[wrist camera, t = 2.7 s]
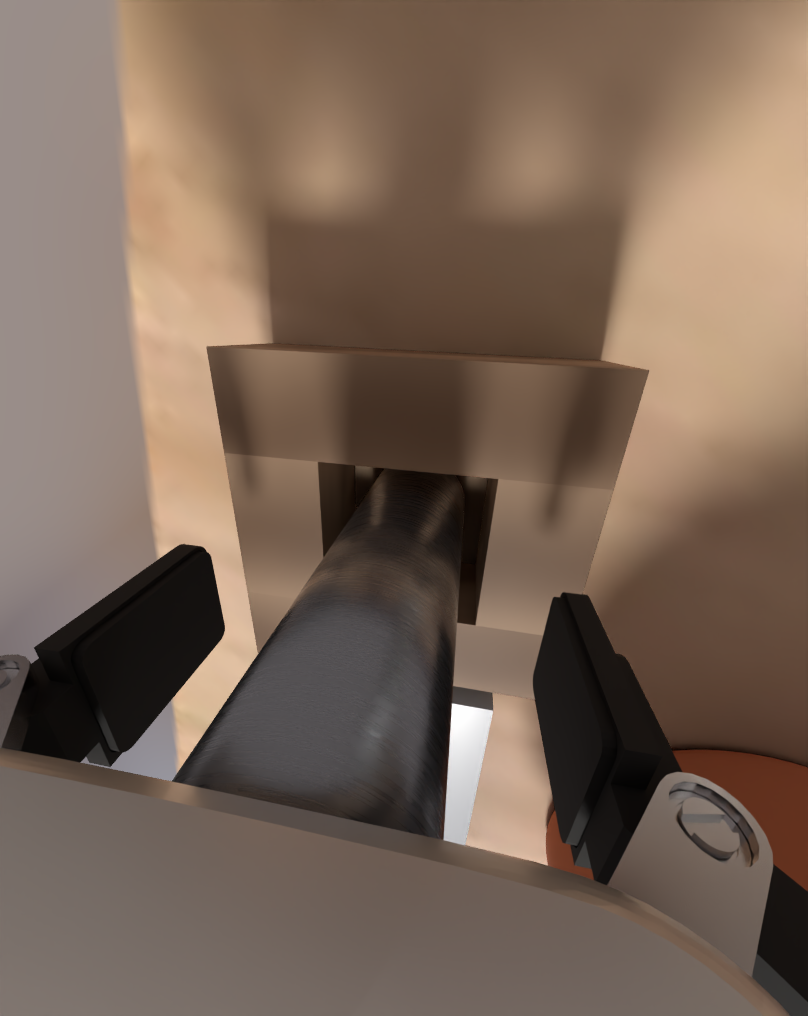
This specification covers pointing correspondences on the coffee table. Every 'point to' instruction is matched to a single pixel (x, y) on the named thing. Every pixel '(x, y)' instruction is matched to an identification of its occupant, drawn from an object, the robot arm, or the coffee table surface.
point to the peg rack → (465, 758)
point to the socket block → (427, 448)
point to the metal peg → (356, 672)
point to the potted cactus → (757, 786)
